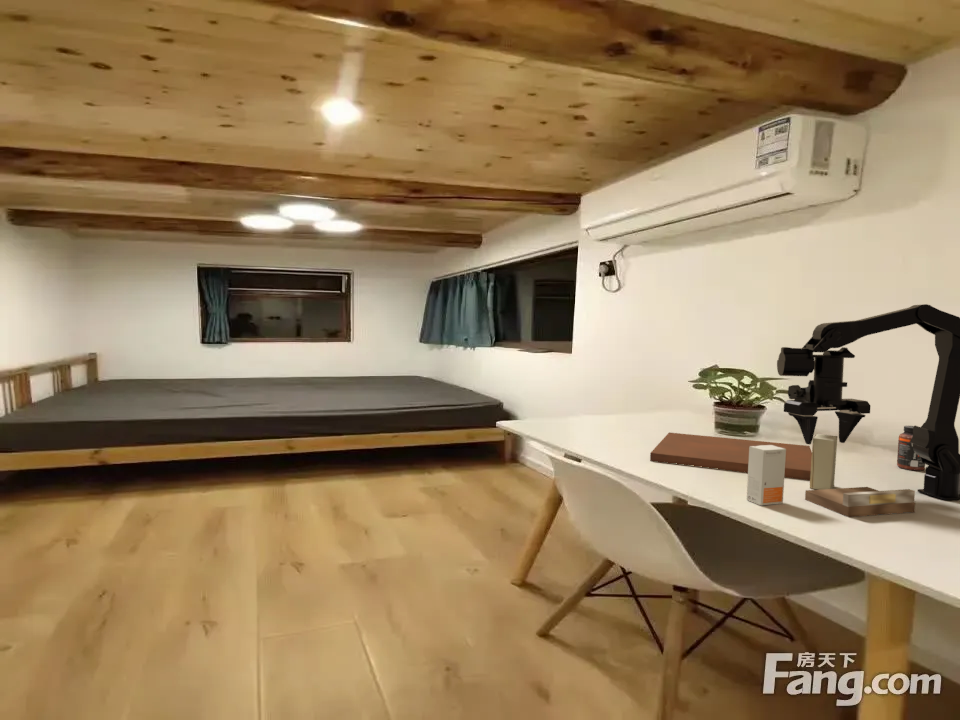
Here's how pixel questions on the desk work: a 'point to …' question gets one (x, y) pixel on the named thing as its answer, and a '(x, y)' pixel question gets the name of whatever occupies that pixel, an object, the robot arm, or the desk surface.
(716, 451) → the brown wooden cutting board
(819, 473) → the skincare box
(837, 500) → the brown flat block
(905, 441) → the supplement bottle
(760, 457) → the skincare box
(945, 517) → the desk surface
